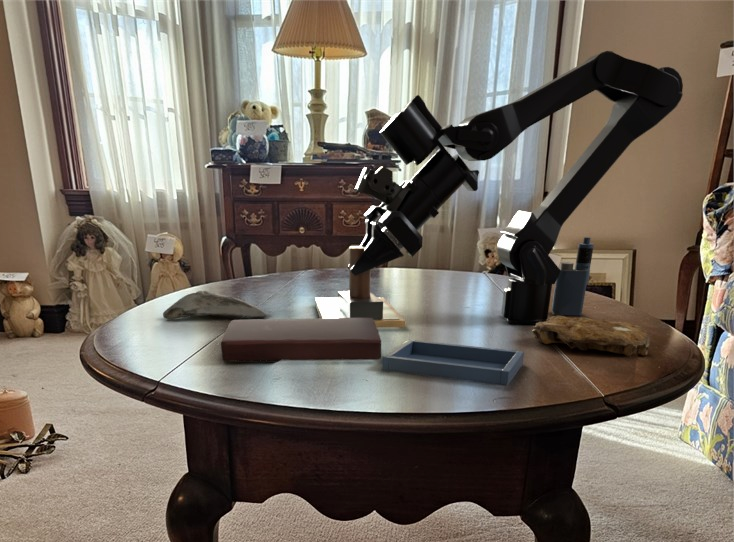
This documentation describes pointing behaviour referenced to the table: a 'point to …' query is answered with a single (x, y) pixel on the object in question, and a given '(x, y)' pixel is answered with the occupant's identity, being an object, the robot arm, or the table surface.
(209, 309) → the fossil
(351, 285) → the eraser
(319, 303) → the board
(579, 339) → the decorative rock
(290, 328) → the book
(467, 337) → the table surface
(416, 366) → the tray
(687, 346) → the table surface
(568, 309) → the vaping device
